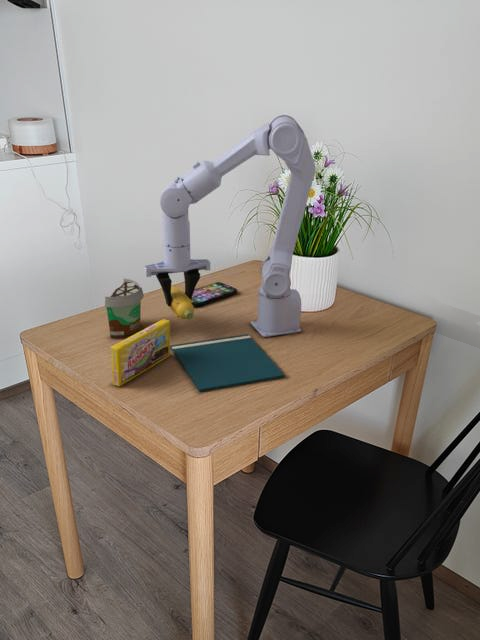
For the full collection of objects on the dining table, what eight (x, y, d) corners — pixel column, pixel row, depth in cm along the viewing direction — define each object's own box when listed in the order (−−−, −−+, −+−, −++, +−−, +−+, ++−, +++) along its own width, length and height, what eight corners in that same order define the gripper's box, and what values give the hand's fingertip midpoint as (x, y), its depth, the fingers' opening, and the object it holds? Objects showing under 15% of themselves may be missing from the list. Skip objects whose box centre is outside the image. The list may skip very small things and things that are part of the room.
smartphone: (239, 289, 163) (195, 304, 154) (239, 293, 163) (195, 308, 154) (218, 281, 167) (174, 295, 158) (218, 284, 168) (174, 298, 159)
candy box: (120, 388, 121) (117, 349, 117) (112, 385, 122) (108, 346, 118) (171, 356, 133) (170, 320, 128) (163, 353, 134) (162, 317, 129)
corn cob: (178, 297, 150) (177, 281, 147) (198, 323, 138) (198, 306, 135) (161, 299, 148) (161, 283, 146) (181, 326, 136) (180, 308, 134)
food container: (135, 343, 138) (131, 300, 132) (108, 340, 138) (104, 297, 133) (152, 321, 148) (150, 280, 142) (127, 318, 149) (124, 277, 143)
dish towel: (247, 336, 142) (247, 333, 142) (284, 377, 127) (285, 374, 126) (170, 347, 136) (170, 344, 136) (199, 392, 121) (199, 389, 121)
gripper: (203, 235, 141) (203, 293, 148) (139, 241, 136) (142, 300, 143) (213, 244, 135) (213, 304, 143) (147, 251, 130) (150, 312, 138)
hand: (178, 303), depth 143 cm, fingers closed on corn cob, 4 cm apart
